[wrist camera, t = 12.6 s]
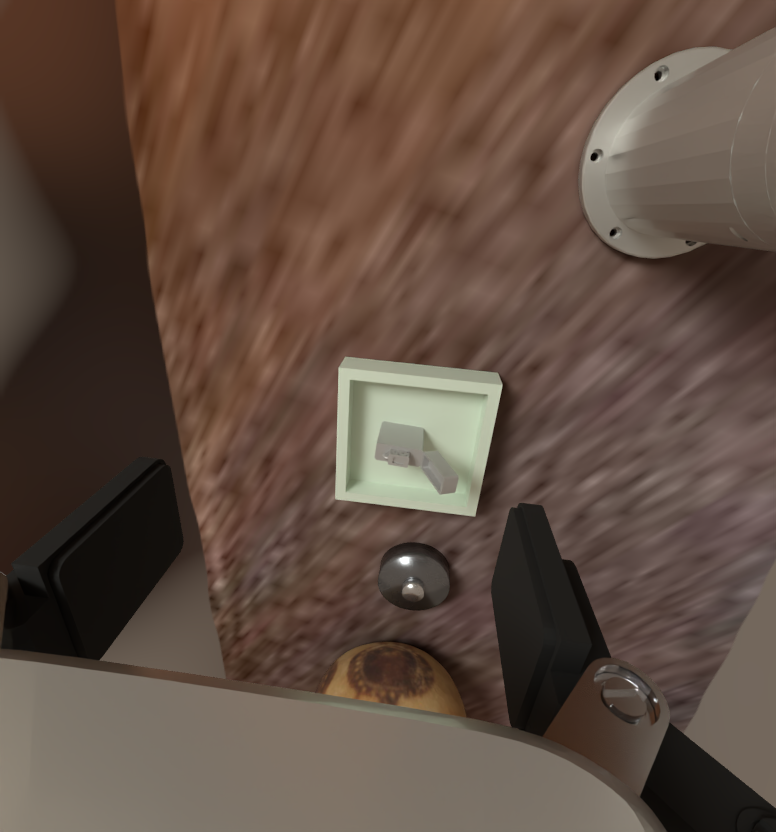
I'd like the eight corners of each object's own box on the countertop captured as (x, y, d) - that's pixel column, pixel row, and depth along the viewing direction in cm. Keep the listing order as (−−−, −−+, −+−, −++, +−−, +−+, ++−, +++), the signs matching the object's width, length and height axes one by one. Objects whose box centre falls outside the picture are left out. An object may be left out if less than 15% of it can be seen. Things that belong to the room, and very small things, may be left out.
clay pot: (312, 724, 61) (266, 887, 41) (335, 599, 60) (300, 705, 40) (444, 752, 60) (463, 932, 40) (471, 627, 59) (504, 749, 39)
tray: (498, 372, 39) (502, 385, 36) (472, 498, 45) (475, 516, 42) (345, 356, 40) (338, 367, 37) (341, 481, 46) (335, 499, 43)
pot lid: (453, 547, 48) (454, 571, 45) (444, 597, 52) (444, 623, 48) (383, 538, 49) (379, 561, 45) (378, 588, 52) (374, 613, 49)
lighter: (379, 436, 42) (368, 483, 35) (382, 420, 41) (370, 465, 34) (451, 448, 42) (454, 498, 35) (455, 433, 41) (459, 480, 34)
